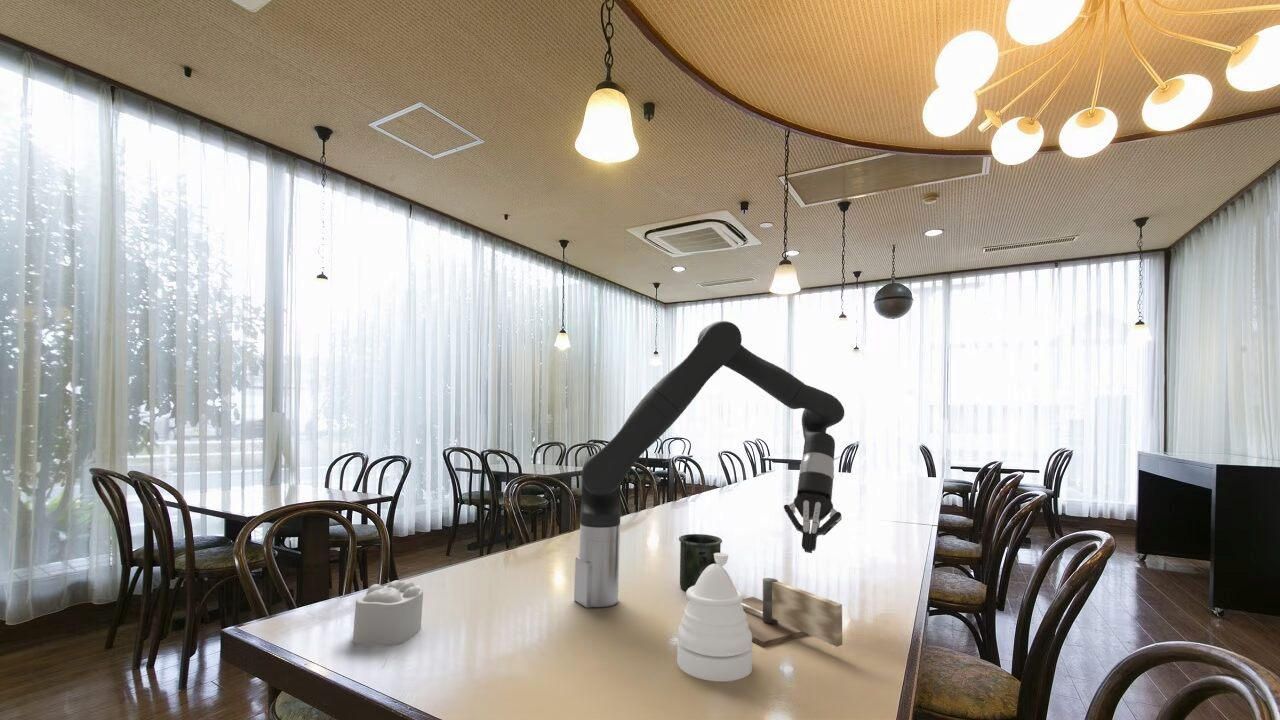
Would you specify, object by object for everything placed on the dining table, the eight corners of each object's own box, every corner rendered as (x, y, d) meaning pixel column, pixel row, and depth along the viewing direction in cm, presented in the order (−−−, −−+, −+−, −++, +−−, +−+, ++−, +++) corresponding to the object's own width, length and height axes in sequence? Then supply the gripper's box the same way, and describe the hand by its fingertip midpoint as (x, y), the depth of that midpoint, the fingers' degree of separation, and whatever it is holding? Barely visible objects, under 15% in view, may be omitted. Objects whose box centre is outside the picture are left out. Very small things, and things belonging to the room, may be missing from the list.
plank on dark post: (729, 605, 121) (729, 567, 122) (739, 603, 123) (739, 566, 124) (834, 653, 98) (833, 606, 99) (845, 649, 99) (844, 603, 100)
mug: (718, 582, 143) (719, 534, 144) (726, 600, 129) (727, 547, 130) (676, 580, 143) (677, 533, 145) (680, 599, 129) (681, 546, 130)
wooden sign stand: (763, 647, 103) (763, 640, 103) (695, 613, 119) (696, 608, 120) (823, 630, 112) (823, 624, 112) (753, 601, 129) (753, 596, 129)
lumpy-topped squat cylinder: (344, 643, 100) (348, 594, 101) (384, 618, 113) (387, 574, 114) (398, 647, 99) (401, 597, 100) (433, 621, 112) (435, 577, 113)
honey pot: (702, 642, 105) (704, 544, 106) (765, 662, 96) (765, 556, 98) (662, 664, 95) (664, 556, 96) (728, 689, 87) (729, 570, 88)
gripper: (784, 467, 128) (774, 541, 120) (845, 473, 122) (839, 552, 114) (789, 479, 134) (779, 551, 125) (847, 486, 128) (841, 562, 120)
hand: (808, 551), depth 120 cm, fingers closed
